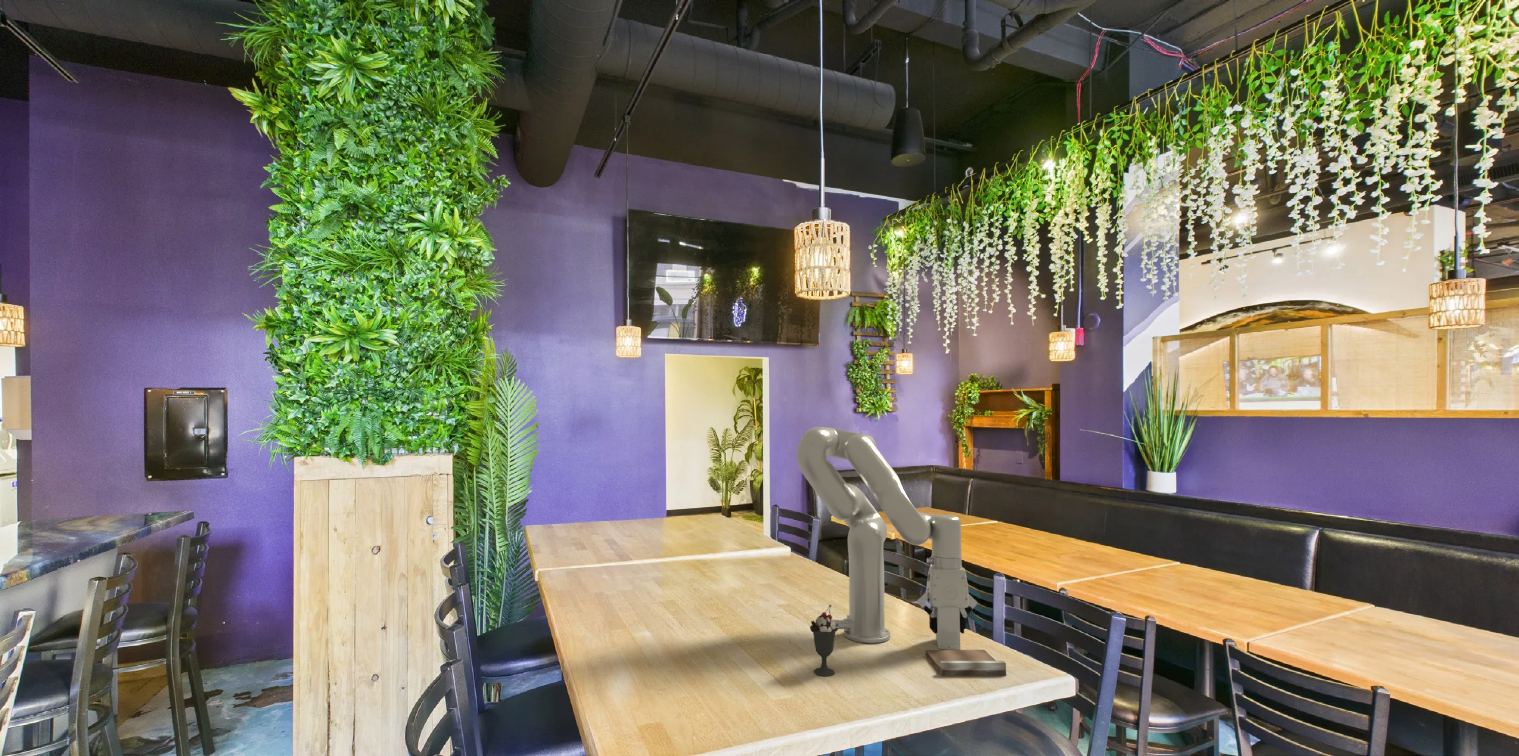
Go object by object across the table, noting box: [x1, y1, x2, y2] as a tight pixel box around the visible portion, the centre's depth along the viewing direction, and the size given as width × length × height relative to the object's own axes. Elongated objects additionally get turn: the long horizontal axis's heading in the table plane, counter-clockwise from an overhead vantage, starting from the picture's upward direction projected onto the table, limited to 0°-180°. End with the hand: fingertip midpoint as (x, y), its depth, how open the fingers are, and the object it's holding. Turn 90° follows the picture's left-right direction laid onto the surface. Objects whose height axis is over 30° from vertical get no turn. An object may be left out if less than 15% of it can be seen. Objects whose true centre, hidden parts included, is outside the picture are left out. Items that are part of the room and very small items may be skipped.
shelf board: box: [924, 649, 1007, 676], centre depth 150 cm, size 15×13×3 cm
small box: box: [935, 607, 961, 650], centre depth 164 cm, size 8×6×10 cm
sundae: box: [809, 604, 839, 677], centre depth 145 cm, size 7×7×15 cm
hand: (947, 631), depth 164 cm, fingers closed on small box, 6 cm apart
